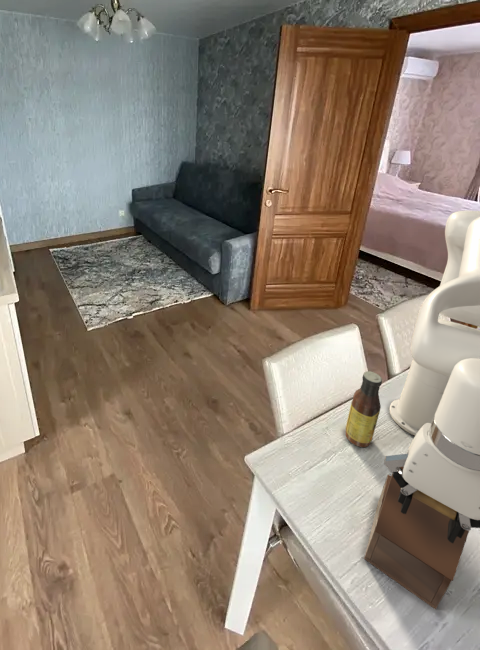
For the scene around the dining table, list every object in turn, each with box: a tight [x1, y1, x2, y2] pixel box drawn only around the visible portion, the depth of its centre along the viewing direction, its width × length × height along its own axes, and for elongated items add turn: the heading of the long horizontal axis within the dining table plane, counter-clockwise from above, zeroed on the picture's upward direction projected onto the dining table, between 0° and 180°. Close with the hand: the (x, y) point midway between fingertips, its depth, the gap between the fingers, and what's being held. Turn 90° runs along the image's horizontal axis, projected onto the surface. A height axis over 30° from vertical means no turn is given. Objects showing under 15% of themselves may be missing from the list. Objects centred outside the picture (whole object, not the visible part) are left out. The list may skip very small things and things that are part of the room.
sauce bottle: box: [344, 370, 383, 448], centre depth 86 cm, size 7×6×20 cm
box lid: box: [375, 467, 470, 582], centre depth 56 cm, size 14×11×6 cm
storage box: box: [363, 474, 452, 610], centre depth 65 cm, size 13×11×9 cm
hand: (426, 518), depth 55 cm, fingers closed on box lid, 5 cm apart
